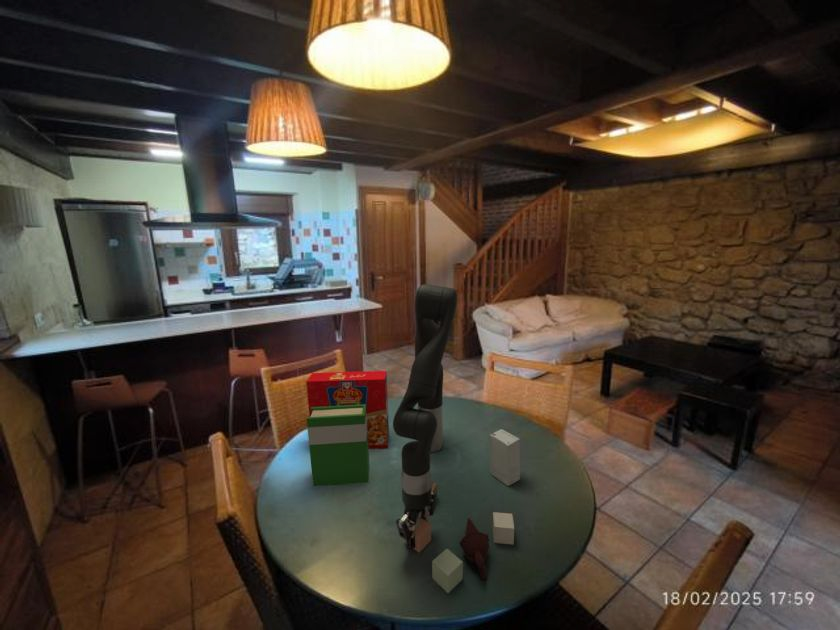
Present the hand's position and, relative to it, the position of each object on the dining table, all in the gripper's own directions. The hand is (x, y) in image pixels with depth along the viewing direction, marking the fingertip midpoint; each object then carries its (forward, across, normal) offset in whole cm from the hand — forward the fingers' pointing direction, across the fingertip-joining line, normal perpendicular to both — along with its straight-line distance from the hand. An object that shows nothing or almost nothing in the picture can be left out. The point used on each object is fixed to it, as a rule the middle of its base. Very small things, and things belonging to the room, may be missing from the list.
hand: (417, 539), depth 95 cm
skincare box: (+1, -37, +7) cm, 38 cm away
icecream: (+1, -5, +14) cm, 15 cm away
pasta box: (+1, -20, -48) cm, 52 cm away
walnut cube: (+1, -13, -7) cm, 15 cm away
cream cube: (+1, -15, +17) cm, 23 cm away
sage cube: (+1, +4, +12) cm, 13 cm away
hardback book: (+1, -5, -36) cm, 36 cm away
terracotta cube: (+1, 0, 0) cm, 1 cm away
